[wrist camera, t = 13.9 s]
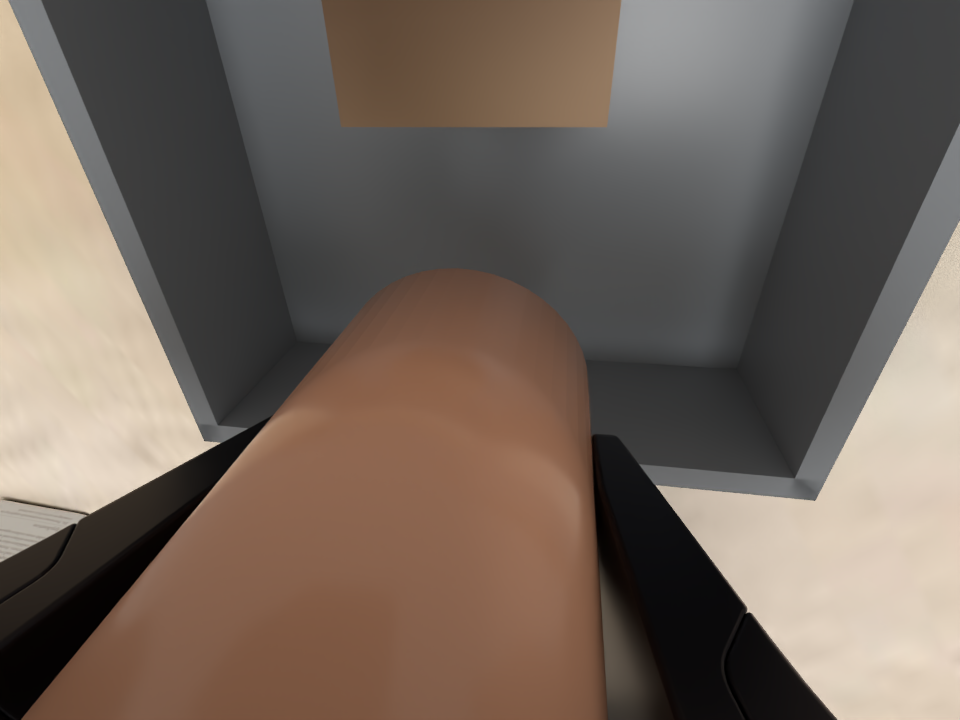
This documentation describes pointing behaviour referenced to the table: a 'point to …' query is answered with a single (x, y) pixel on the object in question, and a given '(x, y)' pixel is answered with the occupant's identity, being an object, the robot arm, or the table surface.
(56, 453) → the table surface
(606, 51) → the cube
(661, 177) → the tote
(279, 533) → the cylinder
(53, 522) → the skincare box
